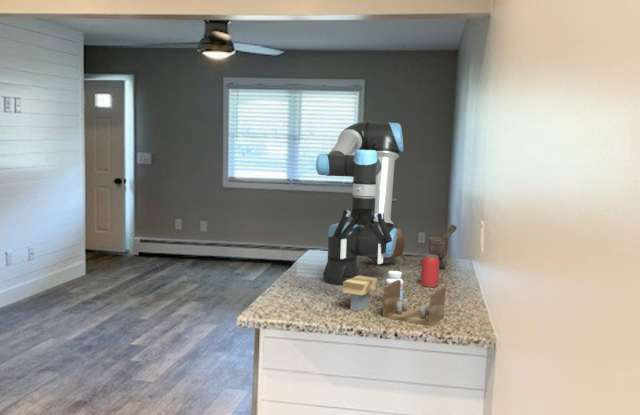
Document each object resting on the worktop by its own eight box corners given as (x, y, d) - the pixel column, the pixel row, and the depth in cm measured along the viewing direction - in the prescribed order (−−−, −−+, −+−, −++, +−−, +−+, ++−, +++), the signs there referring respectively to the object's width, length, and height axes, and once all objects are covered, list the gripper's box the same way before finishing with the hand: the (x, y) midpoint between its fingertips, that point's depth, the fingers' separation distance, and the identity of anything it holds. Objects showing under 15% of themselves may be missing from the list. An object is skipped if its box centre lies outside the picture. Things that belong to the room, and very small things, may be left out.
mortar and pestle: (451, 266, 274) (454, 222, 272) (455, 270, 266) (457, 225, 264) (426, 265, 275) (428, 221, 273) (428, 269, 267) (431, 224, 264)
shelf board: (362, 295, 194) (362, 284, 193) (342, 292, 197) (343, 281, 197) (377, 288, 204) (377, 277, 204) (358, 285, 207) (359, 275, 207)
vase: (367, 257, 288) (370, 195, 284) (407, 261, 281) (410, 197, 278) (353, 266, 266) (356, 199, 263) (396, 271, 260) (400, 202, 257)
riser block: (350, 309, 199) (350, 291, 198) (360, 304, 205) (361, 287, 205) (358, 311, 197) (359, 293, 196) (368, 305, 204) (369, 288, 203)
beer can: (437, 288, 232) (439, 257, 230) (420, 287, 233) (422, 256, 232) (438, 284, 238) (439, 254, 237) (421, 283, 239) (422, 253, 238)
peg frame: (382, 317, 191) (384, 286, 190) (396, 309, 201) (397, 279, 200) (432, 326, 183) (433, 294, 182) (443, 317, 193) (445, 287, 192)
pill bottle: (397, 307, 203) (399, 275, 201) (381, 304, 206) (382, 272, 205) (405, 303, 208) (406, 271, 207) (389, 300, 211) (390, 269, 210)
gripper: (325, 194, 200) (322, 257, 202) (394, 200, 188) (391, 267, 190) (335, 193, 206) (333, 254, 209) (403, 199, 194) (400, 263, 196)
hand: (361, 260), depth 199 cm, fingers open, 13 cm apart
